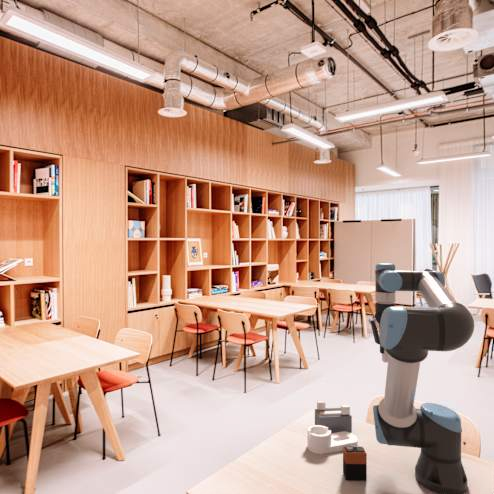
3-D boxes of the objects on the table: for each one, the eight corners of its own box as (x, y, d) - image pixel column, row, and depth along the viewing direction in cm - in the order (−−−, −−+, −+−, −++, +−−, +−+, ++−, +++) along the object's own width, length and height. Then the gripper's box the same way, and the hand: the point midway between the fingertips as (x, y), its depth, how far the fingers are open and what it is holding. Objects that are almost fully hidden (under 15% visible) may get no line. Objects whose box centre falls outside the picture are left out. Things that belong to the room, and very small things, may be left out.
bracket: (314, 456, 139) (314, 438, 139) (303, 444, 148) (303, 427, 148) (362, 447, 145) (362, 429, 145) (349, 436, 154) (349, 419, 154)
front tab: (349, 414, 156) (349, 407, 156) (342, 414, 155) (342, 407, 155) (348, 412, 158) (348, 404, 158) (340, 412, 157) (340, 405, 157)
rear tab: (325, 409, 160) (325, 402, 160) (318, 410, 160) (318, 402, 160) (324, 407, 162) (324, 400, 162) (316, 408, 162) (316, 400, 162)
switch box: (351, 433, 155) (351, 415, 155) (319, 434, 154) (319, 417, 154) (345, 424, 163) (345, 407, 163) (314, 425, 162) (314, 408, 162)
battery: (342, 473, 129) (342, 443, 129) (363, 473, 129) (363, 443, 129) (345, 481, 125) (345, 450, 124) (366, 481, 124) (366, 450, 124)
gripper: (396, 300, 158) (396, 358, 158) (365, 301, 157) (365, 359, 157) (405, 303, 150) (405, 363, 151) (373, 304, 149) (373, 364, 150)
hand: (385, 361), depth 154 cm, fingers closed
